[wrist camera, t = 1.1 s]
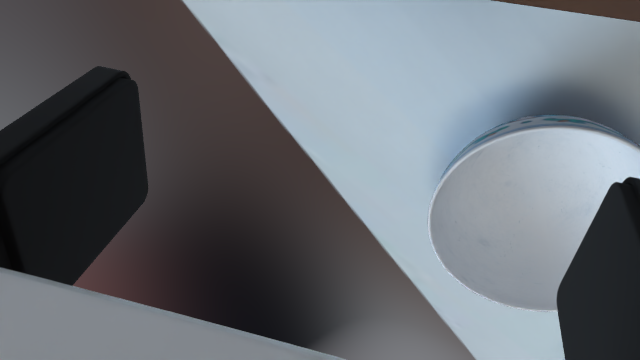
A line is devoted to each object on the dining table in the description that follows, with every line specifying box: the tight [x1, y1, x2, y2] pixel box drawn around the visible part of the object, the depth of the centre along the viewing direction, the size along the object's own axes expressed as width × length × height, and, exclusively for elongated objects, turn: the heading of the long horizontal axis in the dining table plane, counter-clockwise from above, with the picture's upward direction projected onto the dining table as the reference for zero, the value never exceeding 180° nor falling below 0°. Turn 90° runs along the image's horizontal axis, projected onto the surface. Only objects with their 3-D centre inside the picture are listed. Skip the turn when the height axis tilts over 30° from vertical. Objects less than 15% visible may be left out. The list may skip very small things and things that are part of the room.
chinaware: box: [428, 115, 640, 312], centre depth 38 cm, size 15×15×8 cm
